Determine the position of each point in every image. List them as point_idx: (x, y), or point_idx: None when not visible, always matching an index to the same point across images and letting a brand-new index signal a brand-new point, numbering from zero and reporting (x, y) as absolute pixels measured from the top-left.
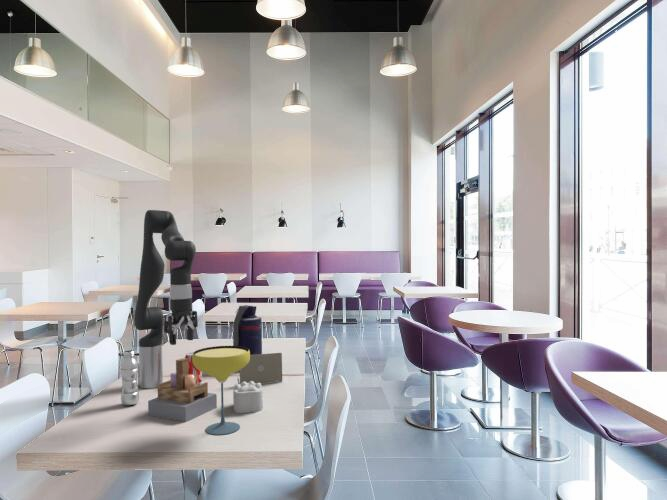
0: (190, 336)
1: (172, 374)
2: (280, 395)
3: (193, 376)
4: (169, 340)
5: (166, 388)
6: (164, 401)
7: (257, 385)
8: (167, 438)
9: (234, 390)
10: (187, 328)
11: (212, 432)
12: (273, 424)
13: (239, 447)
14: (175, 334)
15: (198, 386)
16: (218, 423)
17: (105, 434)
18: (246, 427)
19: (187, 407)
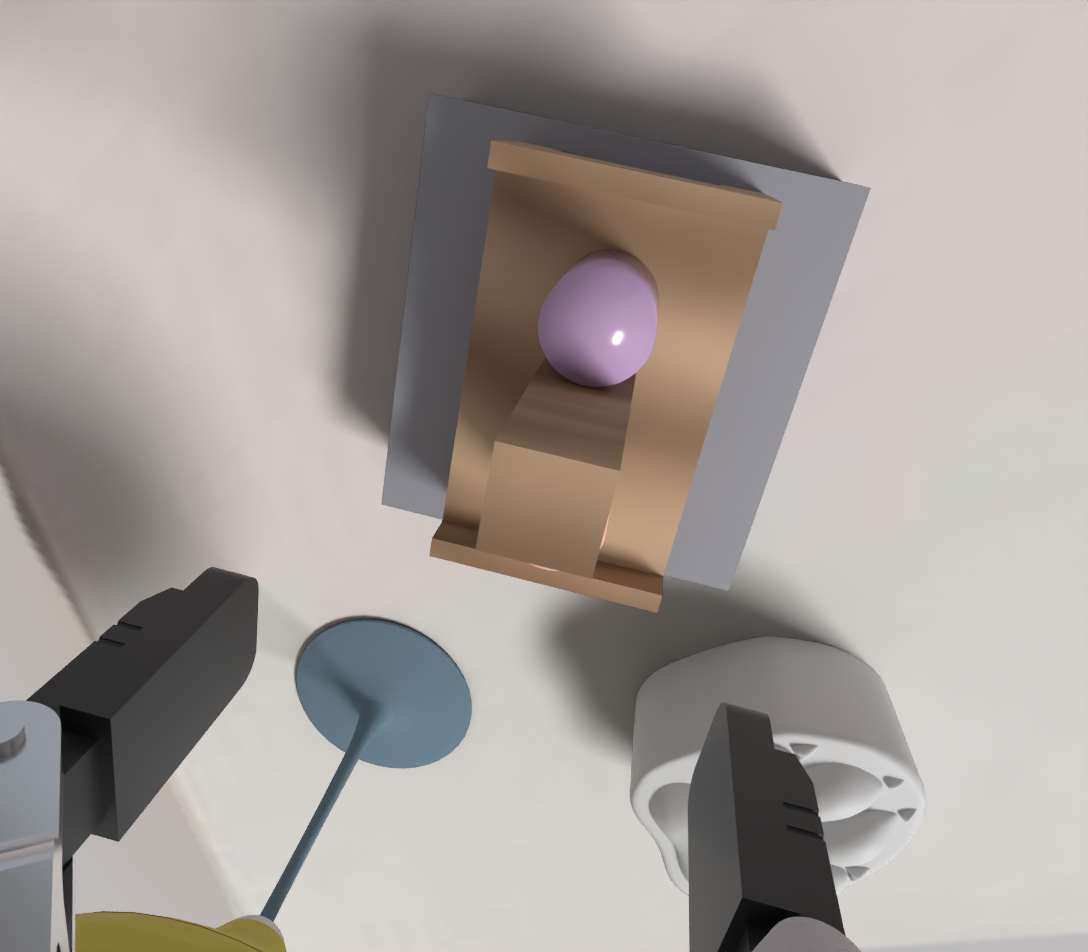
0: (696, 833)
1: (568, 304)
2: (1034, 840)
3: (546, 568)
4: (116, 626)
5: (523, 242)
6: (453, 266)
7: None
8: (173, 483)
9: (682, 760)
10: (757, 949)
11: (303, 676)
12: (506, 882)
13: (223, 814)
14: (106, 831)
15: (534, 580)
16: (411, 669)
17: (52, 41)
18: (435, 787)
19: (402, 505)
